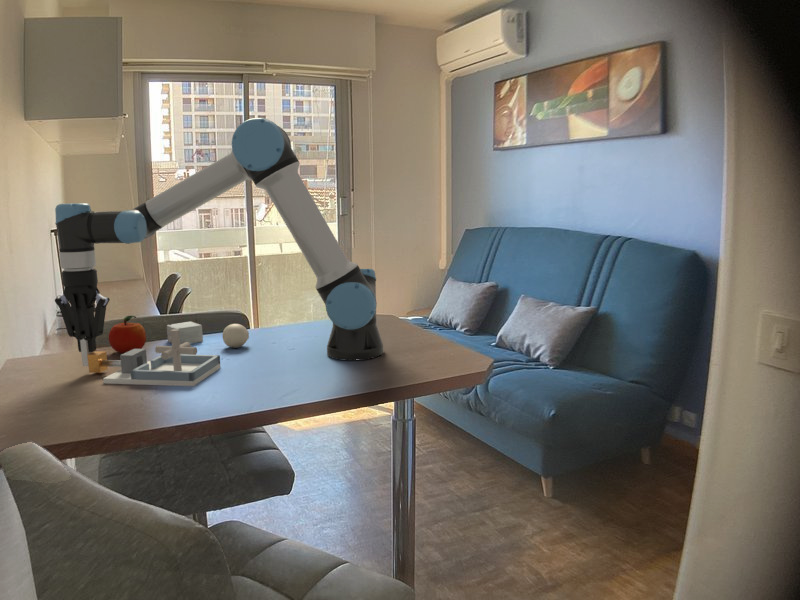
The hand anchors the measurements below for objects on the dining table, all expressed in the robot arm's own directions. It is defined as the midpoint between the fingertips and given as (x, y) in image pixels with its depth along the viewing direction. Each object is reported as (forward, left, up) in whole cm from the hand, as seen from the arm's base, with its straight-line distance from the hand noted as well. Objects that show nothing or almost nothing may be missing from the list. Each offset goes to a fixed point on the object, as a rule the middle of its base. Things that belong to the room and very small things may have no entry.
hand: (89, 364), depth 154 cm
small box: (-8, -33, -3) cm, 35 cm away
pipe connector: (-23, 0, -1) cm, 23 cm away
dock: (-19, 0, -2) cm, 20 cm away
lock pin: (-7, 0, -1) cm, 7 cm away
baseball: (-26, -28, -2) cm, 39 cm away
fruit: (+2, -20, -2) cm, 20 cm away
